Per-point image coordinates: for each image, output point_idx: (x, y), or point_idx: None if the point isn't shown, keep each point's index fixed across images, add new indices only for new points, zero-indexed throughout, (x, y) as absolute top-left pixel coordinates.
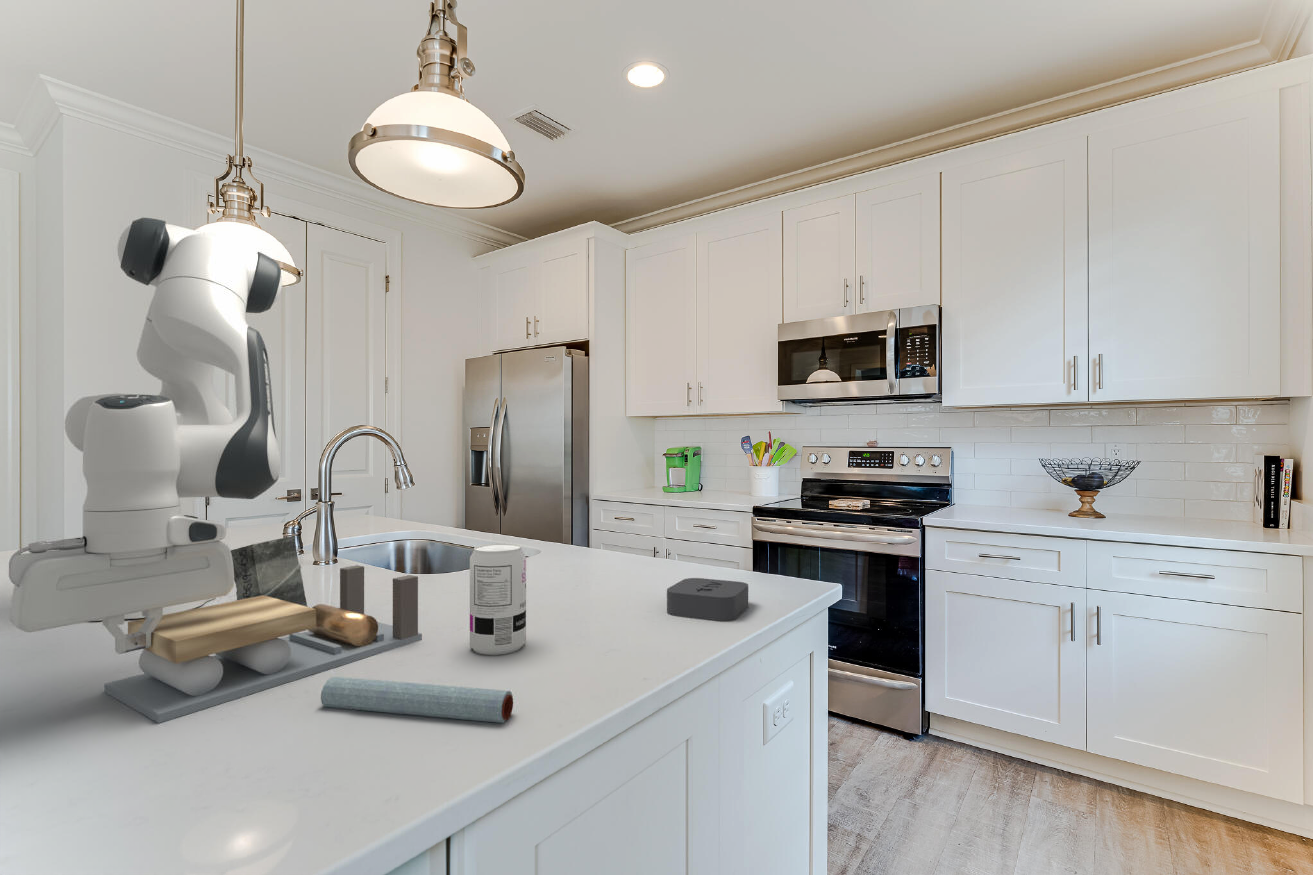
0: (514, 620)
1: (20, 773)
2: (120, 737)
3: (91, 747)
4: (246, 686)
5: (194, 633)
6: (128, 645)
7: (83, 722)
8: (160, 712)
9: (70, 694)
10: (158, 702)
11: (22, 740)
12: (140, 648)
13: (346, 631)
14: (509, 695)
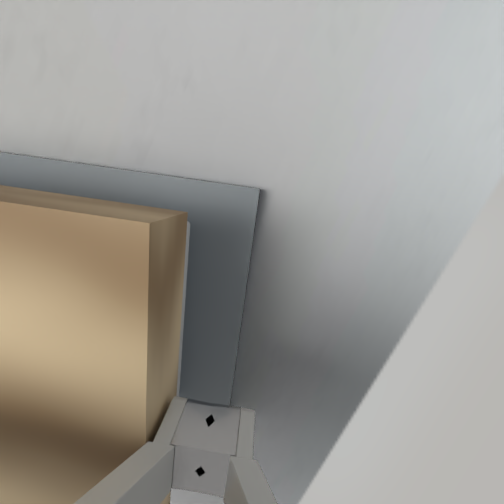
0: None
1: (481, 189)
2: (326, 188)
3: (372, 191)
4: (84, 169)
5: (47, 276)
6: (231, 424)
7: (312, 319)
8: (252, 195)
9: (257, 447)
10: (226, 255)
11: (391, 330)
12: (201, 401)
13: None
14: None
